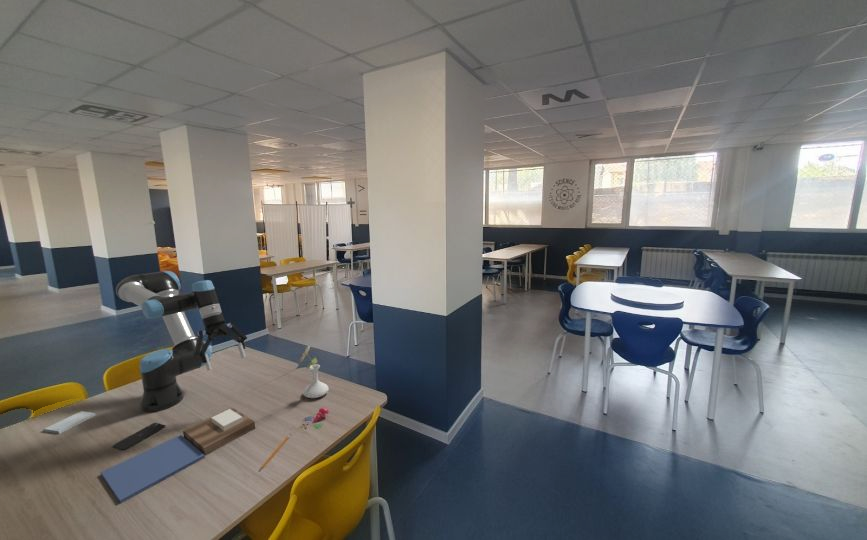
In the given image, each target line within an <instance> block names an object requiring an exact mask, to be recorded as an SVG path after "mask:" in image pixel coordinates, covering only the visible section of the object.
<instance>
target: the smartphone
mask: <svg viewBox="0 0 867 540" xmlns="http://www.w3.org/2000/svg"><path fill="white" fill-rule="evenodd" d="M165 428H167V425H166V424H162V423H158V422H153V423H151V424H149V425H147V426H145V427H144V428H141V429H140V430H138V431H137V432H134V433H132V434H131V435H129V436H127V437H124V438H123V439H121V440H120V441H117V442H116V443H114V444H113V445H112V446H111V447H112V448H113V449H115V450H116V449H117V450H120V451H124V452H125V451H127V450H129V449H131V448H132V447H134V446H135V445H137V444H139V443H141V442H143V441H144V440H146V439H148V438H150V437H151V436H153V435H155V434H157V433H158V432H161V431H162V430H164V429H165Z"/></svg>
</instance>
